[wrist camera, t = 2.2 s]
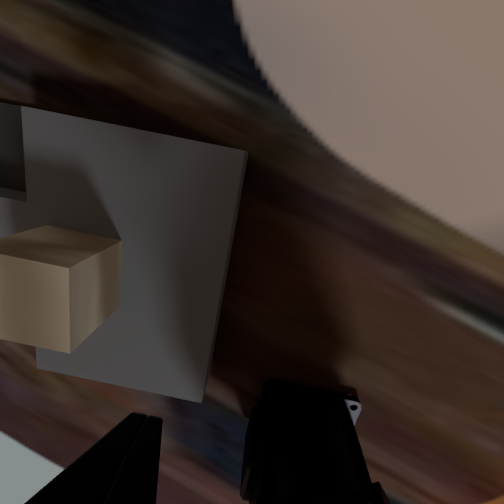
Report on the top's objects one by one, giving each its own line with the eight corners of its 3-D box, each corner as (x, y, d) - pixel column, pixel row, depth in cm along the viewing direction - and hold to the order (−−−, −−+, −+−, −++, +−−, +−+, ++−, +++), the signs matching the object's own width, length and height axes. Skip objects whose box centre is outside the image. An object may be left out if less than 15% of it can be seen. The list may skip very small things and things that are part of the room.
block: (121, 240, 15) (68, 268, 11) (118, 307, 16) (69, 353, 12) (46, 225, 15) (-33, 247, 11) (49, 293, 16) (-21, 334, 12)
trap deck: (248, 152, 15) (245, 150, 13) (208, 379, 19) (201, 402, 18) (-122, 77, 15) (-179, 65, 13) (-74, 320, 20) (-111, 337, 18)
